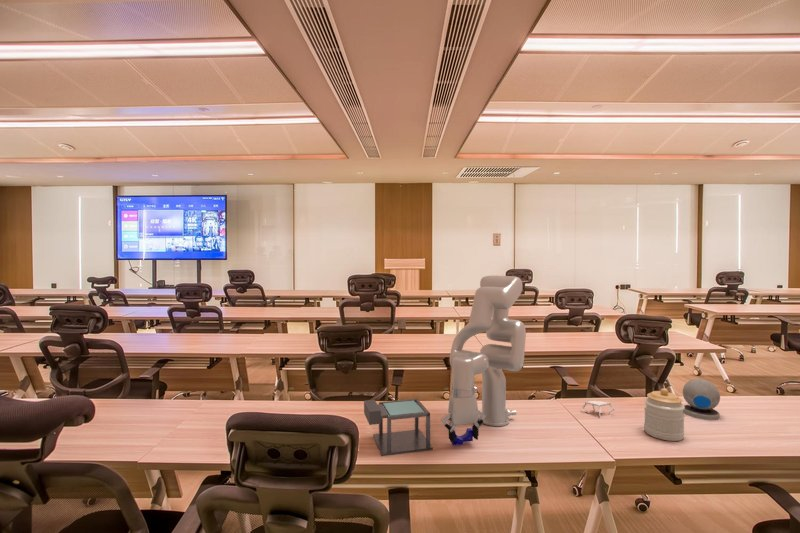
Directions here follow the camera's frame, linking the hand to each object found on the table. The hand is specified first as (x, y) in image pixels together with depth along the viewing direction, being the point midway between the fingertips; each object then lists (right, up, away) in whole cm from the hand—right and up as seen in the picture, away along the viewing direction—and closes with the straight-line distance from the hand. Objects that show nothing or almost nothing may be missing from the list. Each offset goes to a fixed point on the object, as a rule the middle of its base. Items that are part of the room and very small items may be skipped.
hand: (463, 439), depth 145 cm
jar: (+78, -3, +11) cm, 79 cm away
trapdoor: (-25, +8, +2) cm, 26 cm away
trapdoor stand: (-22, -3, +3) cm, 22 cm away
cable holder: (0, -2, +2) cm, 3 cm away
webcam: (+107, -2, +31) cm, 112 cm away
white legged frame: (+64, -2, +30) cm, 71 cm away
